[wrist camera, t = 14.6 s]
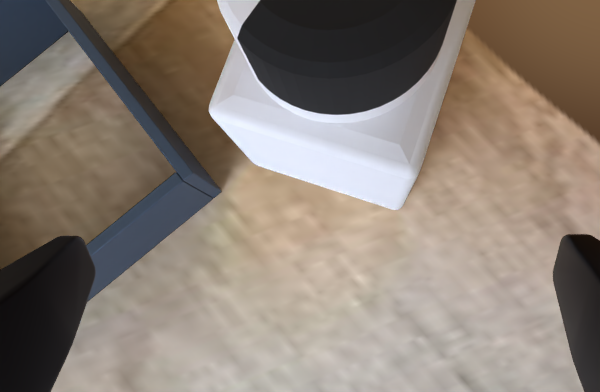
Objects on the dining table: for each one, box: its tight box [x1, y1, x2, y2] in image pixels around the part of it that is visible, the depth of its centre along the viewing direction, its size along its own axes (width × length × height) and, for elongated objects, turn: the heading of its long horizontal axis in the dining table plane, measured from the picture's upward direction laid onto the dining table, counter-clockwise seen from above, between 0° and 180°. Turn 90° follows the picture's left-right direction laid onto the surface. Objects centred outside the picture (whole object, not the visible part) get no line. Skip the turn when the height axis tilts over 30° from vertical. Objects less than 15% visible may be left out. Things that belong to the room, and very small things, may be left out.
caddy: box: [0, 0, 221, 302], centre depth 22 cm, size 12×12×4 cm
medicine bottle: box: [209, 0, 476, 210], centre depth 17 cm, size 7×7×12 cm
